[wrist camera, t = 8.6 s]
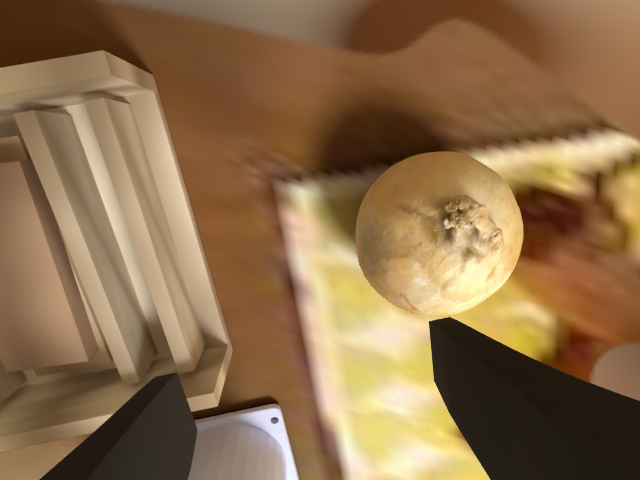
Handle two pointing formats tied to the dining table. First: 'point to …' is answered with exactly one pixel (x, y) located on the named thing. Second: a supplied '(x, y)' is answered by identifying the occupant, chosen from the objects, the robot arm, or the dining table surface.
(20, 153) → the offcut lower
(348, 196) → the dining table surface
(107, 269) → the rack
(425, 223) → the onion
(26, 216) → the offcut upper
